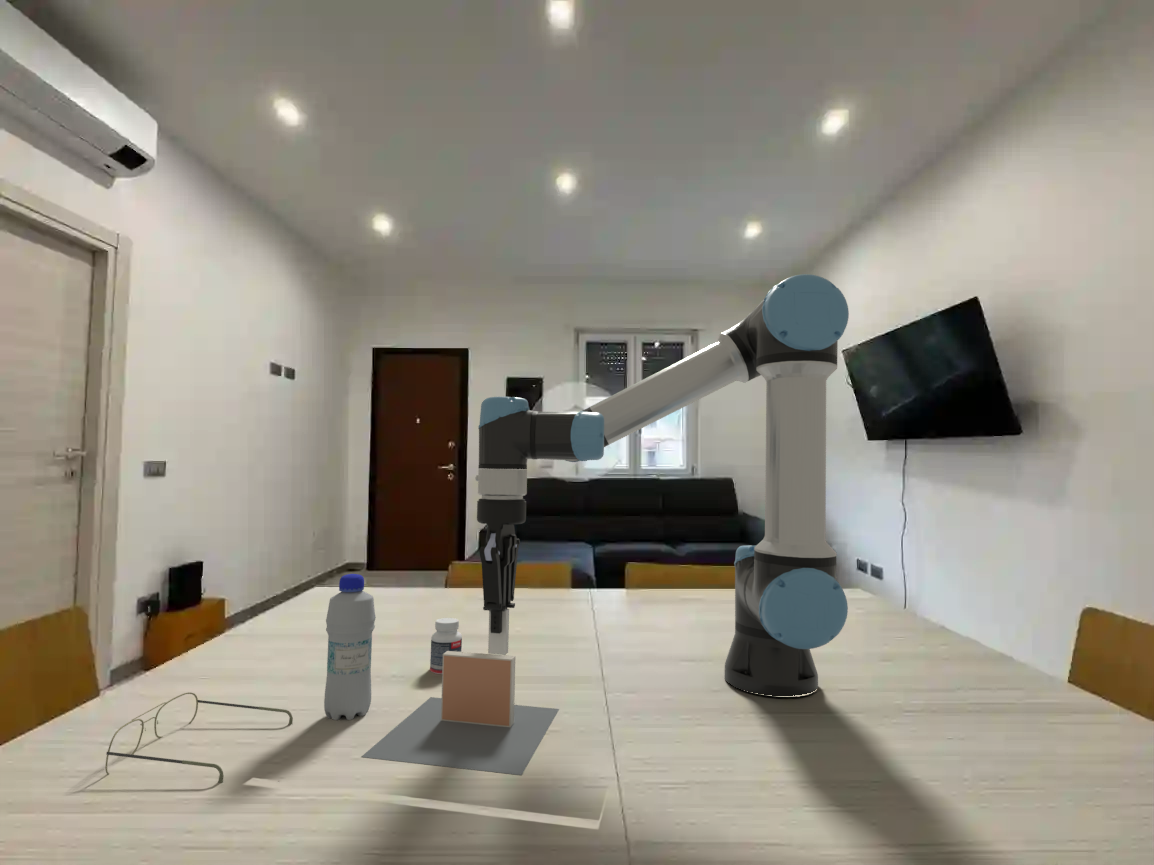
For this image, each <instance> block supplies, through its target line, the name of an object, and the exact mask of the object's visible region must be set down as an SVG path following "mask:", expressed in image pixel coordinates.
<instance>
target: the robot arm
mask: <svg viewBox="0 0 1154 865" xmlns="http://www.w3.org/2000/svg"><path fill="white" fill-rule="evenodd" d="M849 315H850V314H849V305H848V302H847V299H846V297H845V295H844V294H843V292H842V291H841V290H840V289H839V287H837V286H836V285H835V284H834V283H832V282H831V281H830V280H829V279H827V278H824V277H822V276H820V275H816V274H808V273H807V274H806V273H804V274H803V273H802V274H796V275H791V276H790V277H787V278H786V279H784V280H782V281H780V282H778V283H777V284H775V285H774V286H772V288H771V289H769V291H768V292H767V294H766V295H765V297H764V298H763V299H762V300H761V302H759V304H758V305H757V306H756V307H755V308H754V309H753V310H752V311H751V312H750V313H749V314H747V316H746V317H744V318H743V319H742V320H741V321H739V322H738V323H737V324H735V325H734V326H732V327H730V328H729V329H726V330H724V331H722V332H721V333H720V334H719V335H718V338H717V341H716V342H714V343H712V344H710V345H708V346H706V347H704V348H702V349H700V350H699V351H697V352H694V353H693V354H691V355H688V356H686V357H685V358H682V359H681V360H679V361H676V362H675V363H673V364H671V365H670V366H667V367H665V368H663V369H661V370H659V371H658V372H655V373H654V374H652V375H649V376H647V377H646V378H643V379H641V380H640V381H638V382H636V383H634V384H631V385H630V386H628V387H626V388H624V389H622V390H620V391H618V392H616V393H615V394H612V395H610V396H608V397H606V398H604V399H603V400H601V401H599V402H597V403H595V404H592V405H591V406H589V407H587V408H585V409H583V410H579V411H538V410H530V406H529V402H528V400H527V399H526V398H522V397H517V396H516V397H515V396H512V397H511V396H490V397H487V398H484V400H482V401H481V405H480V412H479V413H480V414H479V425H478V426H477V427H478V471H477V472H478V475H476V476H475V481H476V482H478V483H477V494H478V495H479V496H481V498H478V500H477V501H476V502H477V503H476V505H477V506H476V508H477V509H476V521H477V522H478V523H480V524H483V525H487V529H486V530H487V532H486V535H485V537H484V546H480V548H479V552H478V553H479V558H480V561H481V573H482V574H481V575H482V592H483V607H482V608H483V609H482V610H483V611H488V641H487V642H488V648H487V651H488V652H487V654H495V655H506V654H508V653H509V638H510V637H509V636H510V634H509V631H510V630H509V629H510V609H514V608H515V607H516V603H515V602H514V599H515V588H516V587H515V586H516V576H517V565H518V556H519V553H518V552H519V549H520V548H519V547H520V543H521V540H520V538H518V537H517V535H516V531H515V525H521V524H524V523H525V522H526V520H527V501H526V499H524V496H526V495H527V494H528V487H527V486H528V485H527V484H528V470H527V469H528V460H552V461H565V462H570V463H576V462H587V461H599V460H601V459H602V458H603V457H604V455H605V452H604V451H605V448H606V447H607V446H610V445H612V444H613V443H615V442H617V441H620V440H621V439H623V438H626V437H627V436H629V435H631V434H633V433H635V432H637V431H639V430H641V429H643V428H645V427H647V426H649V425H651V424H653V423H655V422H657V421H659V420H660V419H663V418H665V417H667V416H669V415H671V414H672V413H675V412H677V411H679V410H681V409H683V408H685V407H687V406H689V405H690V404H693V403H695V402H697V401H699V400H701V399H704V398H705V397H707V396H709V395H710V394H713V393H714V392H716V391H718V390H720V389H722V388H724V387H727V386H729V385H731V384H733V383H734V382H740V383H745V384H746V383H748V382H749V381H751V380H753V379H756V378H758V377H760V376H762V378H764V380H765V382H766V391H765V392H766V395H765V396H766V398H765V401H766V402H765V403H766V404H765V480H764V481H765V482H764V483H765V484H764V485H765V486H764V487H765V494H764V495H765V496H764V497H765V500H764V503H765V504H764V536H763V539H762V540H761V541H760V542H759V543H757V544H756V545H740V546H739V547H737V549H736V551H735V559H734V562H733V565H734V568H735V569H734V589H735V590H734V596H735V597H734V602H735V603H734V610H735V611H734V613H735V614H734V635H733V639H732V641H731V645H730V648H729V650H728V653H727V656H726V659H725V662H724V680H725V682H726V681H727V682H728V683H730V684H731V685H733V686H735V687H737V688H740V689H742V690H745V691H748V692H753V693H758V694H764V695H772V696H793V695H794V696H795V695H802V694H807V693H811V692H813V691H815V690H816V689H817V688H818V689H819V674H818V670H817V667H816V665H815V661H814V658H813V655H812V652H811V650H812V649H813V650H814V649H818V648H820V647H822V646H825V645H827V644H828V643H830V642H831V641H833V640H834V639H835V638H836V637H837V636H838V635H839V634H840V633H841V631H842V630H843V628H844V627H845V624H846V621H847V618H848V612H849V611H848V610H849V606H848V600H847V596H846V594H845V592H844V589H843V587H842V586H841V584H840V583H839V581H838V579H837V576H838V575H837V570H838V568H837V556H838V555H837V552H836V551H835V550H834V549H833V547H832V546H830V544H829V543H828V542H827V540H826V530H827V529H826V522H827V521H826V520H827V519H826V514H827V513H826V507H827V506H826V504H827V503H826V498H827V497H826V496H827V494H826V492H827V490H826V489H827V488H826V487H827V486H826V485H827V484H826V482H827V480H826V478H827V476H826V474H827V468H826V467H827V380H828V379H829V377H830V376H832V375H833V374H834V372H836V371H837V369H838V346H839V345H838V341H839V340H840V339H841V337H842V336H843V334H844V332H845V330H846V329H847V326H848V323H849V319H850V318H849ZM728 683H727V684H728ZM730 684H729V685H730ZM731 685H730V686H731ZM733 686H732V687H733ZM735 687H734V688H735ZM737 688H736V689H737ZM742 690H741V691H742ZM745 691H744V692H745ZM748 692H747V693H748Z"/></svg>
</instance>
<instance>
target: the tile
mask: <svg viewBox="0 0 1154 865" xmlns="http://www.w3.org/2000/svg"><path fill="white" fill-rule="evenodd" d="M515 685H516V655H500V654H488V653H482V652H481V653H480V652H479V653H478V652H467V651H465V652H464V651H461V652H456V651H446V652H445V653H444V654H443V666H442V674H441V698H442V701H441V721H451V722H461V723H471V724H481V725H491V726H502V727H511V726H512V725H513V723H514V705H515V697H516V696H515V691H516V690H515V689H516V686H515Z"/></svg>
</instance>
